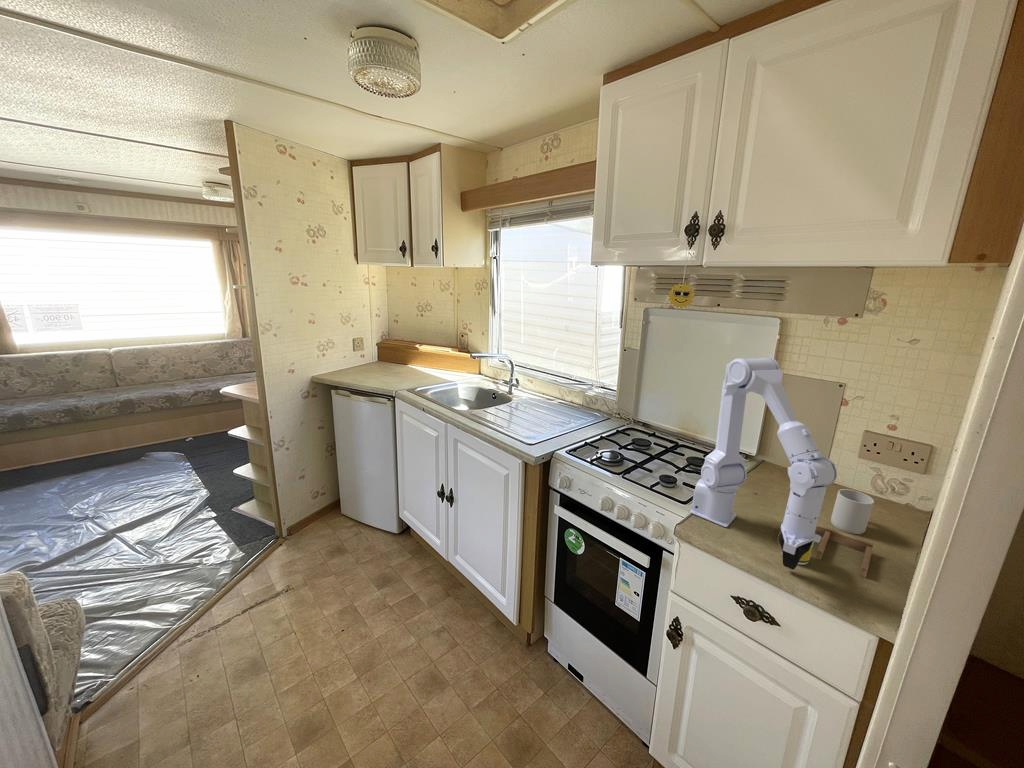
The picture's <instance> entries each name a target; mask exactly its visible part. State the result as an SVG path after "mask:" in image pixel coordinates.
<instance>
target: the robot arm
mask: <svg viewBox="0 0 1024 768" xmlns="http://www.w3.org/2000/svg"><path fill="white" fill-rule="evenodd" d="M780 367H781V366H780V364H779V362H778V361H777V360H776V359H775V358H772V357H769V356H768V357H761V358H760V357H759V358H757V357H756V358H742V357H741V358H740V357H739V358H734V359H733V360H732V361H730V362H729V363H727V364H726V366H725V376H724V380H723V382H722V388H721V397H720V405H719V414H718V415H719V416H718V423H717V432H716V439H715V440H716V441H715V448H714V450H713V451H711V452H710V453H708V455H705V457H704V462H703V465H702V466H701V471H700V477H701V478H699V480H698V481H697V482H696V485H695V488H694V491H693V497H692V503H691V509H690V511H689V513H691V514H693V515H695V516H697V517H699V518H702V519H704V520H707V521H709V522H712V523H715V525H716V524H717V525H719V526H721V527H724V528H728V527H729V526H730V525H731V523H732V522H733V521H734V520H735V518H736V517H737V513H735V512H733V511H734V505H735V500H736V494H737V490H738V489H740V485H742V484H744V483H745V482H746V481H747V477H748V476H747V475H748V473H747V470H746V469H747V468H746V459H745V458H744V457H743V456H742V455H741V454H740V449H741V447H740V445H741V440H742V432H743V426H744V425H743V424H744V415H745V408H746V402H747V401H746V399H747V395H748V393H750V392H751V393H755V394H757V395H759V396H762V398H763V400H764V402H765V403H766V405H767V407H768V408H769V411H770V412H771V414H772V415H773V417H774V419H775V421H776V422H777V424H778V426H779V428H778V429H777V433H776V436H777V437H778V440H779V442H780V444H781V446H782V448H783V450H784V452H785V454H786V456H787V459H788V461H789V463H790V466H787V474H788V478H789V481H790V482H789V489H790V491H789V495H788V500H787V502H786V503H787V504H786V508H785V511H784V512H785V513H784V516H783V520H782V523H781V525H780V531H782V532H781V533H780V535H779V542H780V543H779V544H780V547H781V555H782V557H781V558H782V566H784V567H785V568H788V569H791V570H795V569H796V568H797V566H798V565H799V564H798V562H799V560H800V559H801V557H802V556H803V555H804V554H805V553H807V552H808V551H809V550H810V547H811V545H812V543H813V541H814V543H815V542H816V543H821V541H822V537H821V536H819V535H817V534H815V530H816V526H817V524H818V522H819V519H820V514H821V511H822V507H823V503H824V499H825V495H826V491H827V487H828V485H831V484H833V483H834V482H836V480H837V479H838V478H837V477H838V471H837V468H836V465H835V462H833V461H832V460H831V459H830V458H829V457H826V456H825V455H824V453H823V452H822V451H820V450H819V447H818V446H817V443H816V442H815V440H814V438H813V433H812V431H811V429H810V428H809V427H808V425H806V424H805V423H802V422H800V421H798V420H797V417H796V415H795V412H794V410H793V408H792V404H791V403H790V401H789V400H790V399H789V398H788V395H787V393H786V390H785V388H784V386H783V382H782V381H783V378H784V373H783V371H782V370H781V368H780Z"/></svg>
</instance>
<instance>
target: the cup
mask: <svg viewBox="0 0 1024 768" xmlns="http://www.w3.org/2000/svg"><path fill="white" fill-rule="evenodd" d="M874 503H875V501H874V499H873V497H871V496H870V495H867V494H865V493H862V492H861V491H857V490H854V489H847V488H845V489H844V488H842V489H838V491H837V495H836V498H835V501H834V506H833V510H832V514H831V516H830V517H831V518H830V522H831V524H832V525H833V526H834V527H835V528H836V529H838V530H841V531H842V532H843V533H844V532H845V533H848V534H853V535H862V534H864V533H865V532H866V530H867V527H868V524H869V520H870V516H871V514H872V510H873V506H874Z"/></svg>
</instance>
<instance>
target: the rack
mask: <svg viewBox="0 0 1024 768" xmlns="http://www.w3.org/2000/svg"><path fill="white" fill-rule="evenodd" d="M781 532H782V531H781V530H780V531H779V532H778V534H777V536H776V537H777V538H776V543H778V544H780V542H779V535H780V533H781ZM815 534H817V535H819V536H821V540H820V542H819V543H820V544H819V547H818V548H817V551H816V556H815V559H817V560H819V561H822V558H823V557H824V556H823V555H824V553H825V551H826V548H827V545H828V542H829V541H832V542H835V543H837V544H840V545H843V546H846V547H848V548H851V549H854V550H857V551H860V552H862V553H864V555H863V560H862V563H861V569H860V572H859V577H862V578H864V579H866V577H867V575H868V570H869V566H870V562H871V561H870V560H871V557H872V550H873V547H874V543H872V542H869V541H866V540H863V539H861V538H858V537H855V536H852V535H850V534H846V533H844V532H841V531H839V530H838V531H837V530H835V529H833V528H830V527H827V526H824V525H822V524H819V523H817V526H816V530H815Z"/></svg>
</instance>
